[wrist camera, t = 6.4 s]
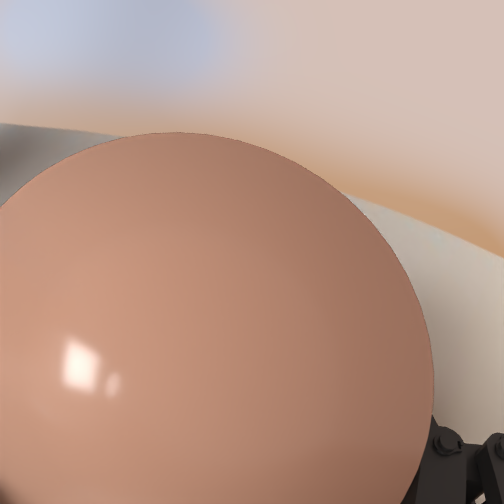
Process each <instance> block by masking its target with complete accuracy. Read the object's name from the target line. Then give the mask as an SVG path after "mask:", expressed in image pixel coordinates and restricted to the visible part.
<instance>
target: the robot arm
mask: <svg viewBox="0 0 504 504" xmlns="http://www.w3.org/2000/svg"><path fill="white" fill-rule="evenodd" d="M483 493H484V494H485V499H486V501H484V502H483V503H482V504H504V434H503V433H494V434H492V435H491V436H490V437H489V438H488V439H487V440H486V441H485V442H484V443H483V445H476V444H465V443H464V442H463V440H462V439H461V437H460V436H459V435H458V434H457V433H456V432H455V431H453V430H451V429H449V428H447V427H442V426H438V425H437V423H436V421H435V419H434V417H433V415H432V417H431V423H430V429H429V434H428V439H427V442H426V446H425V449H424V452H423V455H422V458H421V461H420V464H419V467H418V470H417V472H416V474H415V476H414V479H413V481H412V483H411V485H410V487H409V489H408V491H407V493H406V494H405V496H404V498H403V500H402V502H401V503H400V504H476V503H475V500H476V499H477V498H478V497H479V496H481V495H482V494H483Z"/></svg>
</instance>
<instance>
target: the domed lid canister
mask: <svg viewBox="0 0 504 504" xmlns="http://www.w3.org/2000/svg"><path fill="white" fill-rule="evenodd" d="M433 396H434V370H433V361H432V353H431V346H430V339H429V335H428V331H427V327H426V323H425V320H424V316H423V313H422V309H421V306H420V303H419V301H418V299H417V296H416V294H415V291H414V289H413V287H412V284H411V282H410V280H409V278H408V276H407V274H406V272H405V270H404V269H403V267H402V265H401V263H400V262H399V260H398V258H397V257H396V255H395V253H394V252H393V250H392V248H391V247H390V246H389V244H388V243H387V242H386V240H385V239H384V238H383V236H382V235H381V234H380V233H379V231H378V230H377V229H376V227H375V226H374V225H373V224H372V222H371V221H370V220H369V219H368V218H367V217H366V216H365V215H364V214H363V213H362V212H361V211H360V210H359V209H358V208H357V207H356V206H355V205H354V204H353V203H352V202H351V201H350V200H349V199H348V198H346V197H345V196H344V195H343V194H341V193H340V192H339V191H338V190H336V189H335V188H334V187H333V186H331V185H330V184H329V183H327V182H326V181H325V180H323V179H322V178H320V177H319V176H317V175H315V174H314V173H312V172H311V171H309V170H307V169H306V168H304V167H302V166H301V165H299V164H297V163H295V162H293V161H291V160H289V159H287V158H285V157H282V156H280V155H278V154H276V153H274V152H271V151H269V150H267V149H264V148H261V147H257V146H254V145H251V144H248V143H245V142H242V141H238V140H233V139H229V138H224V137H218V136H213V135H206V134H195V133H181V132H179V133H178V132H177V133H152V134H145V135H138V136H131V137H125V138H120V139H116V140H113V141H109V142H106V143H102V144H99V145H95V146H93V147H90V148H88V149H85V150H83V151H80V152H78V153H76V154H73V155H71V156H69V157H67V158H65V159H63V160H61V161H60V162H58V163H56V164H54V165H53V166H51V167H49V168H47V169H46V170H44V171H43V172H41V173H40V174H38V175H37V176H36V177H34V178H33V179H32V180H30V181H29V182H28V183H26V184H25V185H24V186H22V187H21V188H20V189H19V190H18V191H17V192H16V193H15V194H14V195H13V196H11V197H10V198H9V199H8V200H7V201H6V202H5V203H4V204H3V205H2V206H1V207H0V504H400V503H401V502H402V500H403V498H404V496H405V494H406V493H407V491H408V489H409V487H410V485H411V483H412V481H413V479H414V476H415V474H416V472H417V470H418V467H419V464H420V461H421V458H422V455H423V452H424V449H425V446H426V442H427V439H428V434H429V429H430V423H431V417H432V410H433Z"/></svg>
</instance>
